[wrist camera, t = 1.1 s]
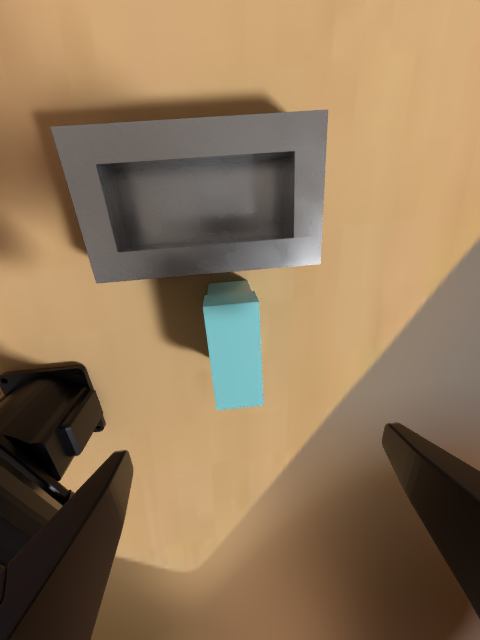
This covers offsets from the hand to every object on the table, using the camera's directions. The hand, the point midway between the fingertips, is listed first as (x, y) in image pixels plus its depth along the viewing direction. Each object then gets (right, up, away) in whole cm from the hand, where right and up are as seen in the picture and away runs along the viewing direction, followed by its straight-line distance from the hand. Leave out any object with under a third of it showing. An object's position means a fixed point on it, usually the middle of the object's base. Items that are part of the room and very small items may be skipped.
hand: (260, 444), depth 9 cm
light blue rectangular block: (-1, +4, +11) cm, 12 cm away
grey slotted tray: (-3, +12, +8) cm, 14 cm away
